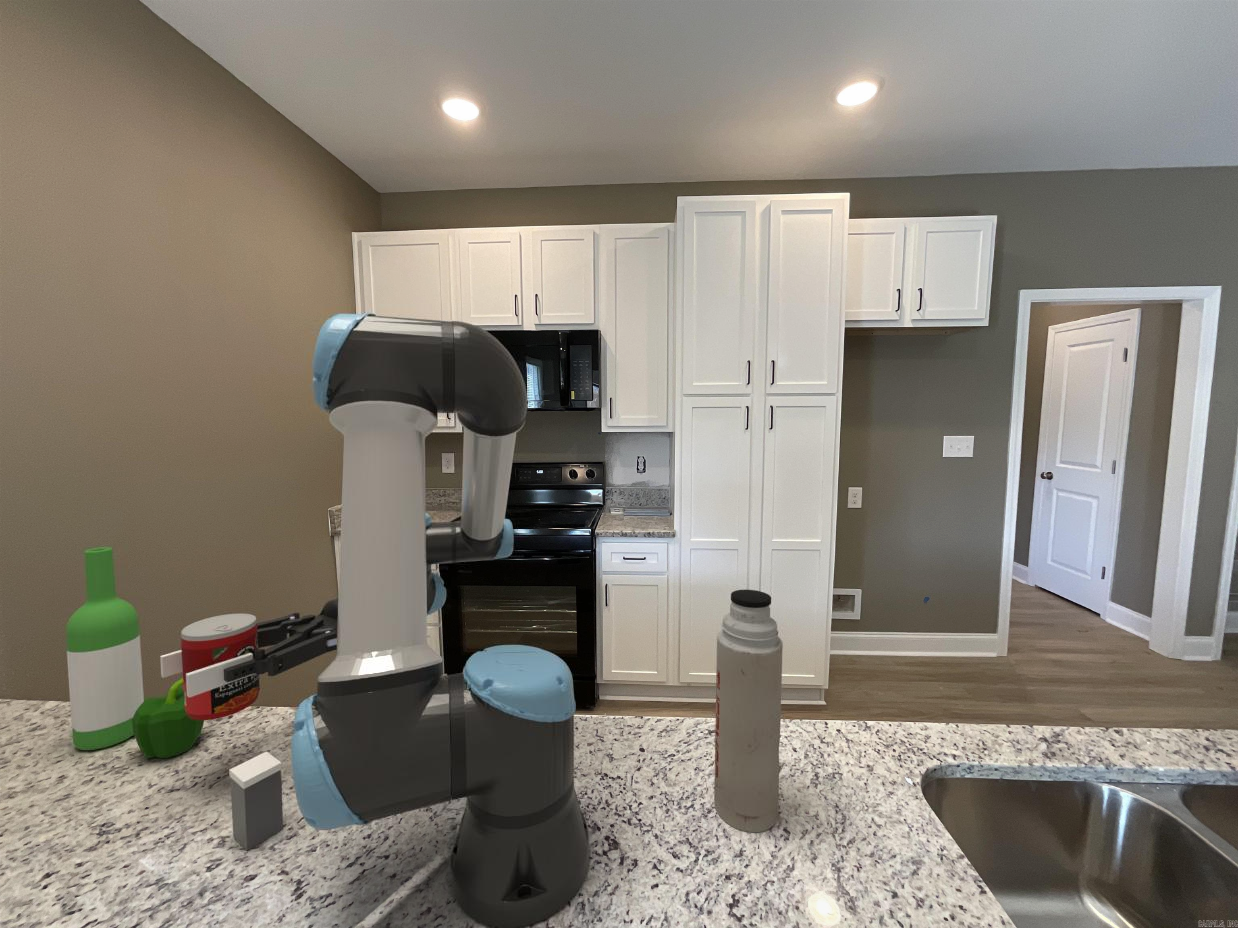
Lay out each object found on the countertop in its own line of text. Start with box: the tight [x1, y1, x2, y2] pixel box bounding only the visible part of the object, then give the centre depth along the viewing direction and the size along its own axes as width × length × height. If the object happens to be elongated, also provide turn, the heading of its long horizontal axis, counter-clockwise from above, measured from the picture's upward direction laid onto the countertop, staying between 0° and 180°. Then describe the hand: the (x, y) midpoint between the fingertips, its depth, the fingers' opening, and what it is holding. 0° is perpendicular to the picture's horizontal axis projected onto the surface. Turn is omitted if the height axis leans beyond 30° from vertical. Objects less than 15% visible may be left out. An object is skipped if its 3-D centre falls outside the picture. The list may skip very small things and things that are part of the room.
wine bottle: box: [65, 546, 145, 751], centre depth 74 cm, size 8×8×30 cm
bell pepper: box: [132, 677, 205, 759], centre depth 72 cm, size 8×8×10 cm
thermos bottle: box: [713, 589, 784, 833], centre depth 61 cm, size 8×8×28 cm
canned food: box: [180, 613, 261, 721], centre depth 63 cm, size 8×8×11 cm
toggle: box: [228, 751, 284, 852], centre depth 56 cm, size 4×4×8 cm
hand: (174, 675), depth 59 cm, fingers closed on canned food, 8 cm apart
